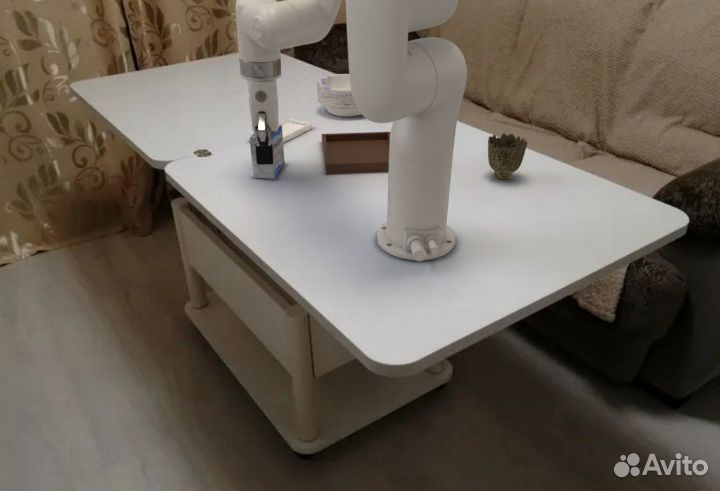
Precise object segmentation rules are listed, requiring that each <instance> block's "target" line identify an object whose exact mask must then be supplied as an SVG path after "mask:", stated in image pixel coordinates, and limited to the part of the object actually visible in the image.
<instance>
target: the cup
mask: <svg viewBox="0 0 720 491" xmlns="http://www.w3.org/2000/svg"><path fill="white" fill-rule="evenodd" d="M528 143H529V142H528V141H527V139H526V138H525V137H523V138H521V136H520V135H519V136H517V137H516V135H515V134H513V133H509V134H506V133H505V132H503V133H501V135H500V136H499V137H498V136H497V135H496V134H493V135H492V136H490V135H489V136H488V139H487V161H488V164H489V167H490V168H491V169H492V170H493V177H494V178H495V179H497V180H498V181H509V180H512V177H513V173H515V172H516V171H518V170H519V169H520V167H521V166H522V163H523V160H524V157H525V154H526V150H527V146H528Z"/></svg>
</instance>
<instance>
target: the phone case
mask: <svg viewBox="0 0 720 491" xmlns="http://www.w3.org/2000/svg"><path fill="white" fill-rule="evenodd" d="M294 122H298V123H294ZM300 123H302V124H300ZM303 124H305V125H303ZM279 125H281V126H282V133H283V144H284V143H286V142H287V141H290V140H291V139H293V138H296V137H298V136H300V135H301V134H304V133H306V132H308V131H310V130H311V129H312V123H311V122H308V121H303V120H298V119H294V118H285V119H282V120H281V121H280V120H279ZM253 134H254V133H252V134H249V135H248V141H249V143H250V137H251V136H252V135H253Z"/></svg>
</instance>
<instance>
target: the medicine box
mask: <svg viewBox="0 0 720 491" xmlns="http://www.w3.org/2000/svg"><path fill="white" fill-rule="evenodd" d="M258 129H259V128H258ZM266 129H269V128H268V127H266ZM252 134H253V135H252ZM252 134H251V135H252V136H251V137H250V142H249V148H250V157H251V166H252V174H253V178H255V179H269V180H275V179H276V178H277V177H278V174H279V172H280V171H281V170H282V168H283V167H284V166H285V164H286V162H285V147H284V143H283V133H282V126H281V125H278V131H277V132H275V131H271V144H273V164H271V165H258V164H257V161H256V147H255V145H256V132H254V133H252ZM266 135H267V136H268V133H266Z"/></svg>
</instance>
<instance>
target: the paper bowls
mask: <svg viewBox="0 0 720 491" xmlns="http://www.w3.org/2000/svg"><path fill="white" fill-rule="evenodd" d="M316 87H317V88H316V91H317V92H316V93H317V94H316V95H317V101H318V102H319V104H321V105H323V106H324V107H325V108H326V110H327V112H328V113H330V114H331V115H334V116H338V117H343V118H345V117H346V118H349V117H350V118H351V117H357V116H362V114H361V113H360V111H359V110H358V108H357V106H356V104H355V102H354V99H353V96H352V92H351V86H350V77H349V73H338V74H337V73H336V74H329V75H326V76H322V77H320V78H319V79H318V80H317V83H316Z"/></svg>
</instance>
